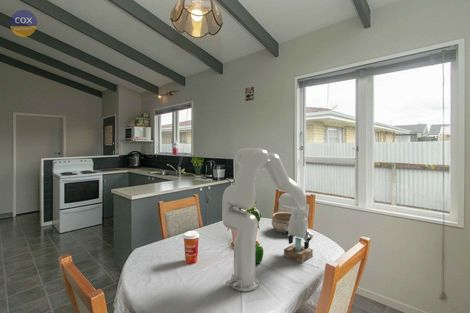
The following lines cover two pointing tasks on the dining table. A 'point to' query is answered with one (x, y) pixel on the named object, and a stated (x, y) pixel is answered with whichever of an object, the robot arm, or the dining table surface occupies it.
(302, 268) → the dining table surface
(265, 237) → the dining table surface
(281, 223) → the cooking pot
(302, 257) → the socket
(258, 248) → the bell pepper
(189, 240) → the coffee cup
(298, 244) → the peg
